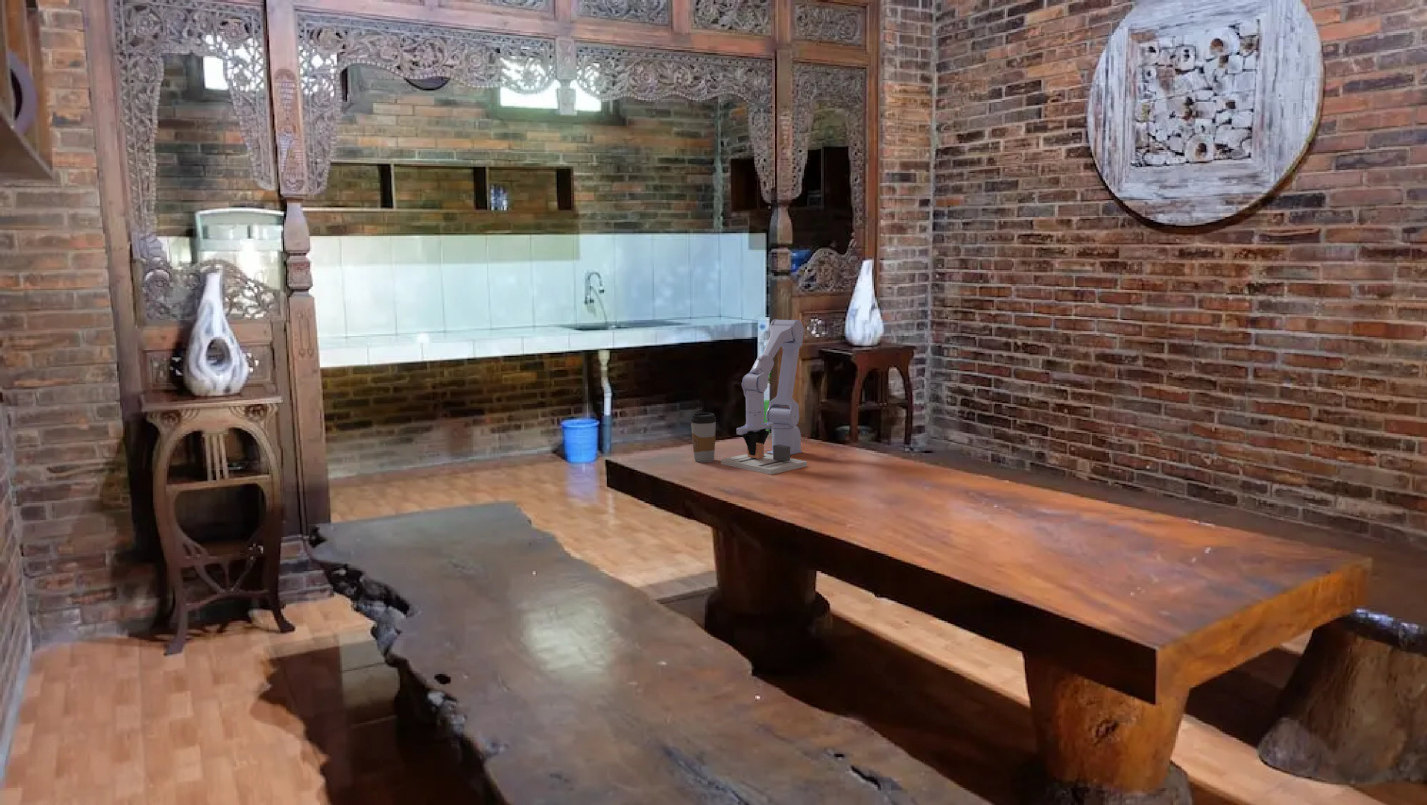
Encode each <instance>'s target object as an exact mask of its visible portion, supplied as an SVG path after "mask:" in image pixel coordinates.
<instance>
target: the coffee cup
mask: <svg viewBox="0 0 1427 805" xmlns="http://www.w3.org/2000/svg"><path fill="white" fill-rule="evenodd" d="M715 415H716V414H715V413H712V412H696V413H692V414H691V417H690V426H691V440H692V449H693V459H694V461H695V462H697V463H711V462H714V459H715V450H716V426H717V425H716V424H717V423H716V422H717V417H716V416H715Z"/></svg>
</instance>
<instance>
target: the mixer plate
mask: <svg viewBox="0 0 1427 805" xmlns="http://www.w3.org/2000/svg"><path fill="white" fill-rule="evenodd" d="M720 464H721V465H723V466H728V467H733V468H738V469H743V470H747V471H751V472H755V473H756V472H757V473H761V474H765V475H775V474H779V473H783V472H784V473H785V472H787V471H791V470H792V471H793V470H797V469H801V468H805V467H808V461H805V460H801V459H795V458H791V457H790V461H786V462H784V461H779V460H774V459H773V454H768V453H766V452H764V458H760V459H757V458H752V457H747V453H746V454H741V455H735V456H731V457H725V458H721V459H720Z"/></svg>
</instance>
